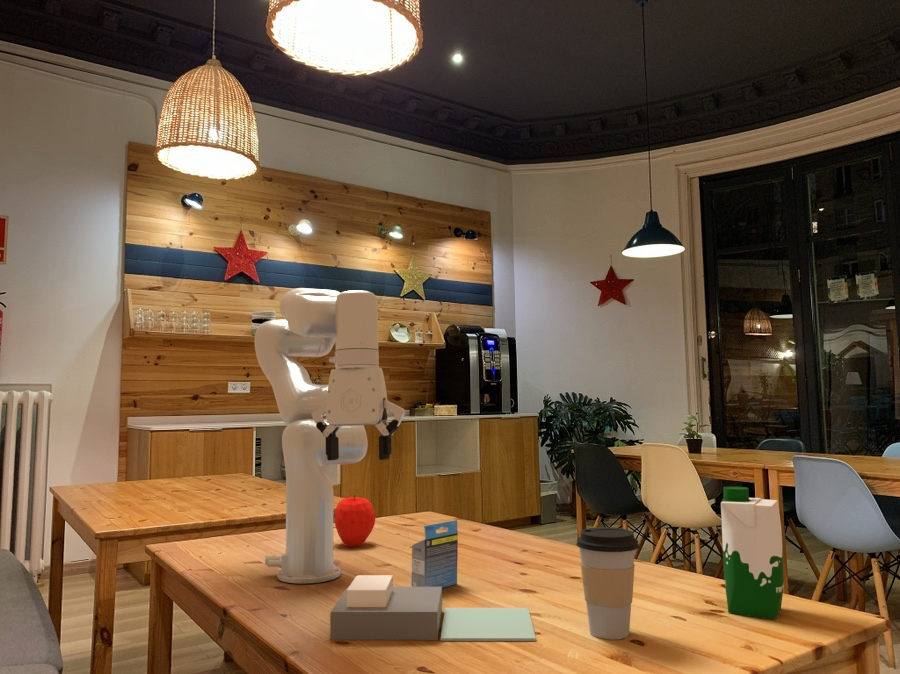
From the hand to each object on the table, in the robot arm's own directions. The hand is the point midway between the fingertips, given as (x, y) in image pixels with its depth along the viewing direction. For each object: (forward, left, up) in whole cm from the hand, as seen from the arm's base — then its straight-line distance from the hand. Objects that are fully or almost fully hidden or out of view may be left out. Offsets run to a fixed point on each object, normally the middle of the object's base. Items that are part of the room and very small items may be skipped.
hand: (358, 459), depth 120 cm
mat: (+22, -8, -25) cm, 34 cm away
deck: (+6, -8, -25) cm, 27 cm away
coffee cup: (+40, -12, -26) cm, 49 cm away
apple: (-10, +52, -26) cm, 59 cm away
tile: (+3, -8, -21) cm, 23 cm away
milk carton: (+66, -1, -26) cm, 71 cm away
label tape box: (+12, +14, -26) cm, 32 cm away
